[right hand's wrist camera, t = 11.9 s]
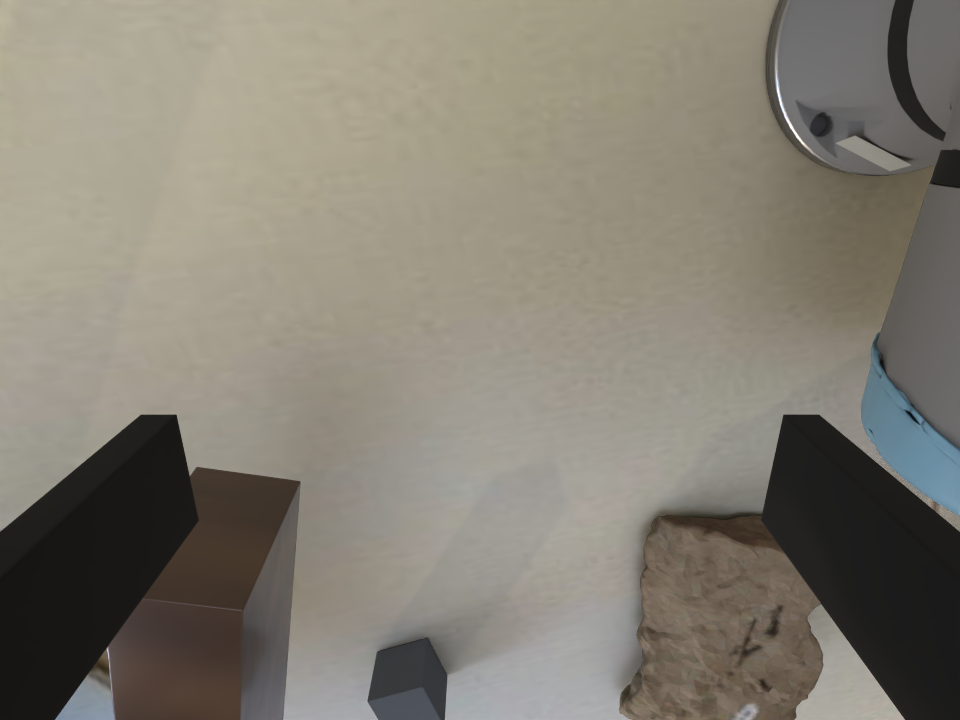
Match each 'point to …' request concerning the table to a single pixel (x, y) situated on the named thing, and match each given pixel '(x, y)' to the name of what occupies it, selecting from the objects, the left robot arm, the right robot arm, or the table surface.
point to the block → (408, 683)
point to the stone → (721, 625)
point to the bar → (215, 610)
